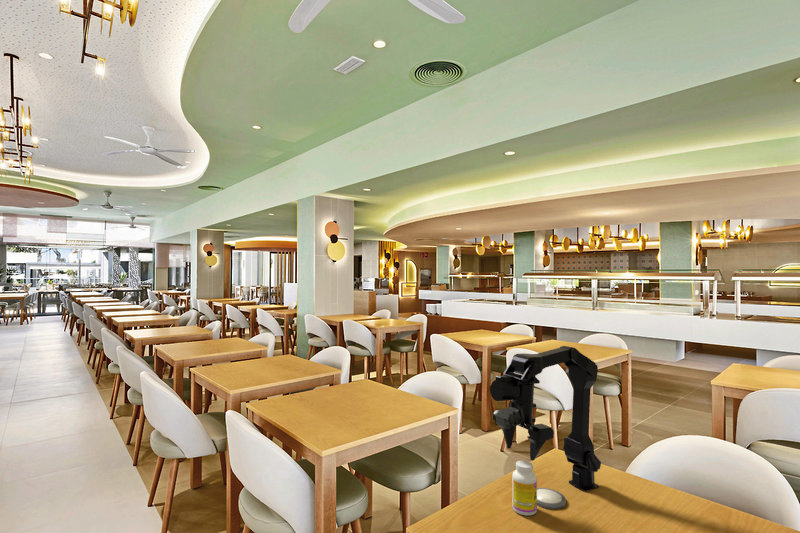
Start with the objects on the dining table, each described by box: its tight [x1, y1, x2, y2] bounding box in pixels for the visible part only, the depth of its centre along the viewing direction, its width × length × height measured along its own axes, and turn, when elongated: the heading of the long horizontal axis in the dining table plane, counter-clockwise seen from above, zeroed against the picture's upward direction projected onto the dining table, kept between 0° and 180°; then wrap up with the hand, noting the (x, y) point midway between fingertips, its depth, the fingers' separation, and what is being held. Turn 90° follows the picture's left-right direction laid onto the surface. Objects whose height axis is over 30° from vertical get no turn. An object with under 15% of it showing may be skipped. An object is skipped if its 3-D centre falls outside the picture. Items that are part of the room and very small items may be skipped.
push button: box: [537, 487, 567, 510], centre depth 122 cm, size 10×10×1 cm
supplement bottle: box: [511, 460, 538, 517], centre depth 117 cm, size 7×7×13 cm
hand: (520, 454), depth 119 cm, fingers open, 9 cm apart
